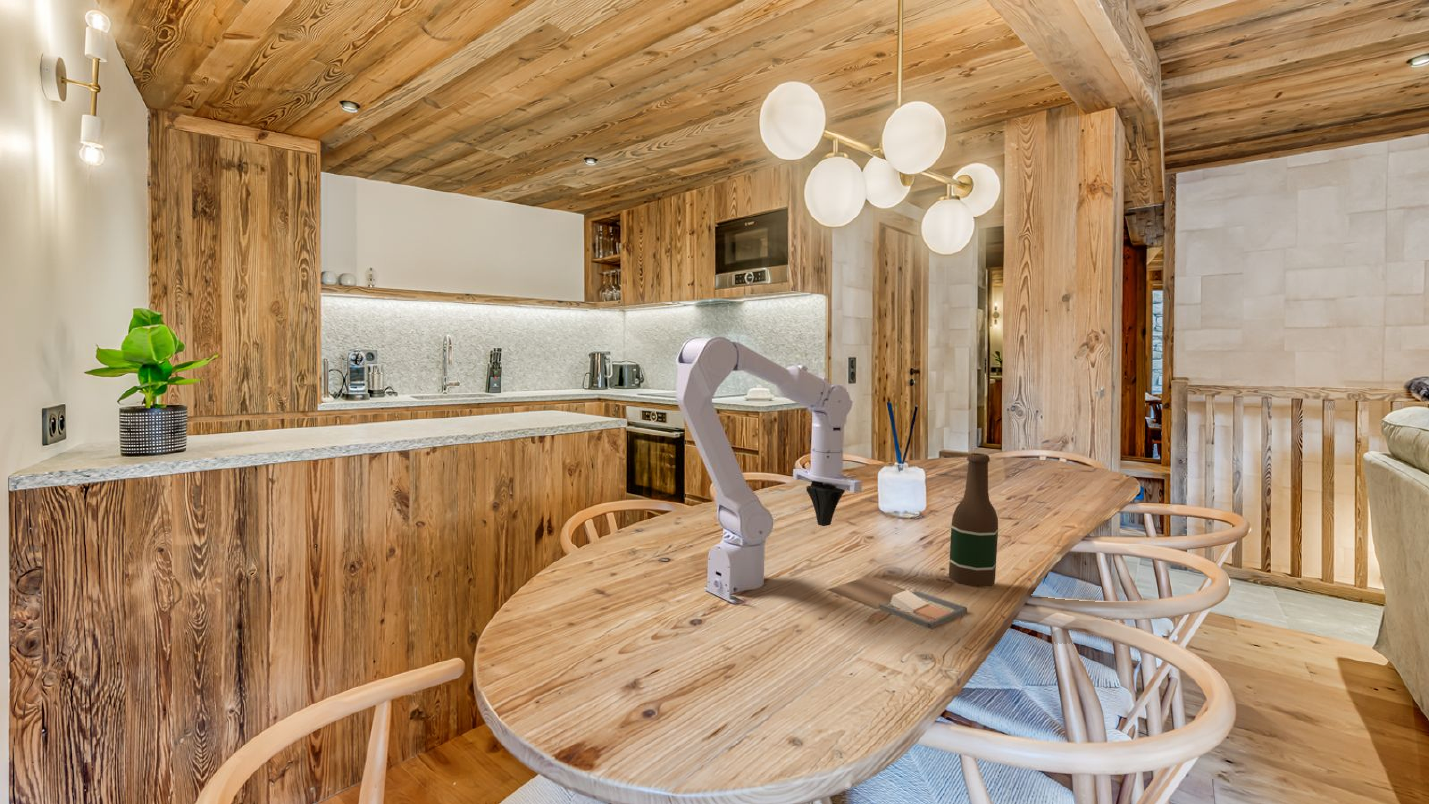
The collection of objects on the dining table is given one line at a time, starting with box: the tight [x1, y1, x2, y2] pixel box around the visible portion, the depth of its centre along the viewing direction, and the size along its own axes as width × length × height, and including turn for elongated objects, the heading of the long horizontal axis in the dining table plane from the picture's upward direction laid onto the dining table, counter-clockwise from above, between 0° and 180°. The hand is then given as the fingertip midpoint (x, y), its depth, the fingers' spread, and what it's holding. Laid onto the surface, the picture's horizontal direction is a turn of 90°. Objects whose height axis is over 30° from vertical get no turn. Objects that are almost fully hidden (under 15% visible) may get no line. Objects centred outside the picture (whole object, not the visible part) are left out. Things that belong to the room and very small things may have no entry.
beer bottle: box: [948, 452, 999, 588], centre depth 113 cm, size 8×8×24 cm
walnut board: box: [826, 575, 914, 610], centre depth 107 cm, size 11×10×2 cm
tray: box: [878, 590, 968, 629], centre depth 100 cm, size 10×9×2 cm
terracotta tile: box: [913, 604, 952, 621], centre depth 98 cm, size 4×4×2 cm
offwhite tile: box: [890, 589, 929, 614], centre depth 101 cm, size 4×4×2 cm
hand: (824, 524), depth 117 cm, fingers closed
